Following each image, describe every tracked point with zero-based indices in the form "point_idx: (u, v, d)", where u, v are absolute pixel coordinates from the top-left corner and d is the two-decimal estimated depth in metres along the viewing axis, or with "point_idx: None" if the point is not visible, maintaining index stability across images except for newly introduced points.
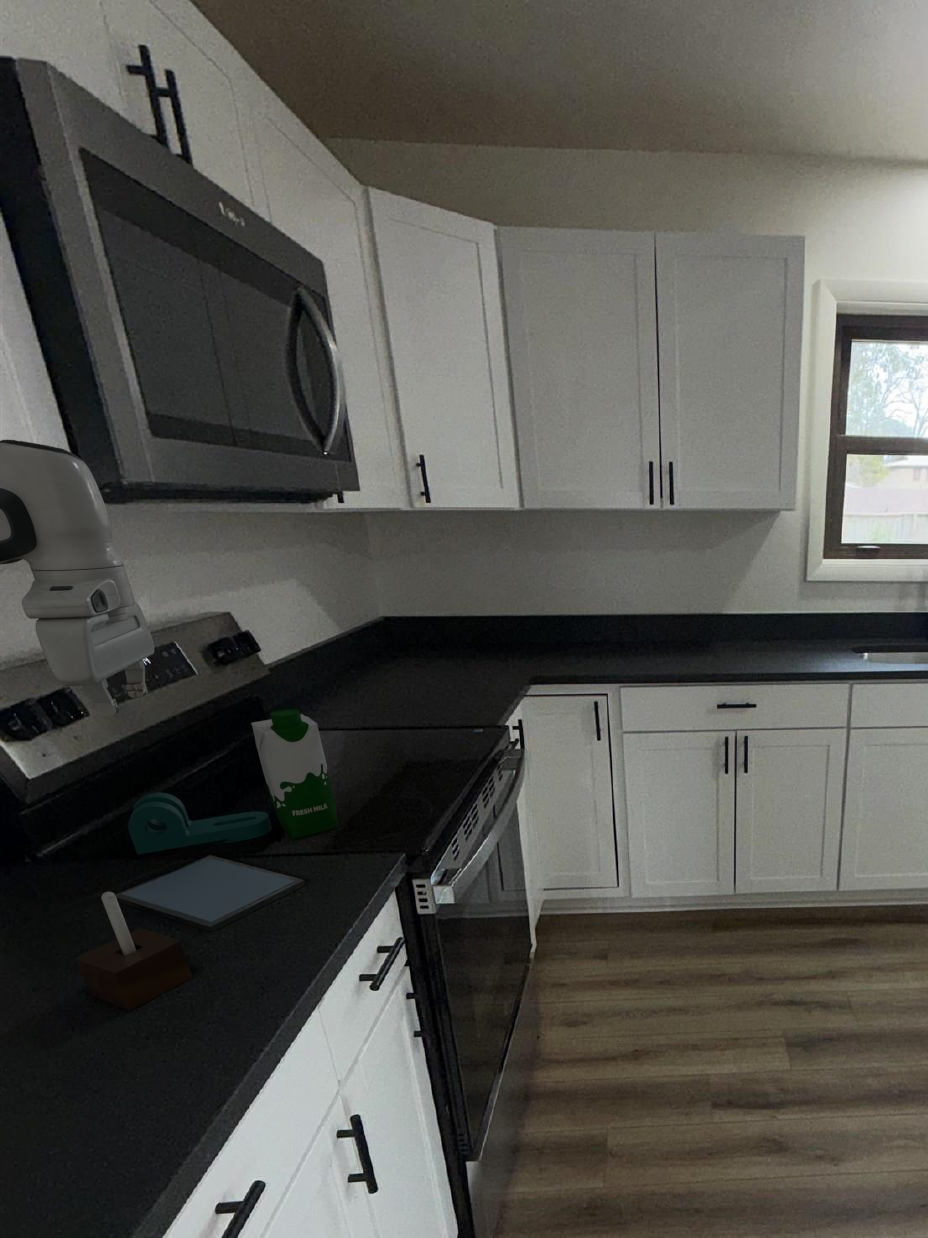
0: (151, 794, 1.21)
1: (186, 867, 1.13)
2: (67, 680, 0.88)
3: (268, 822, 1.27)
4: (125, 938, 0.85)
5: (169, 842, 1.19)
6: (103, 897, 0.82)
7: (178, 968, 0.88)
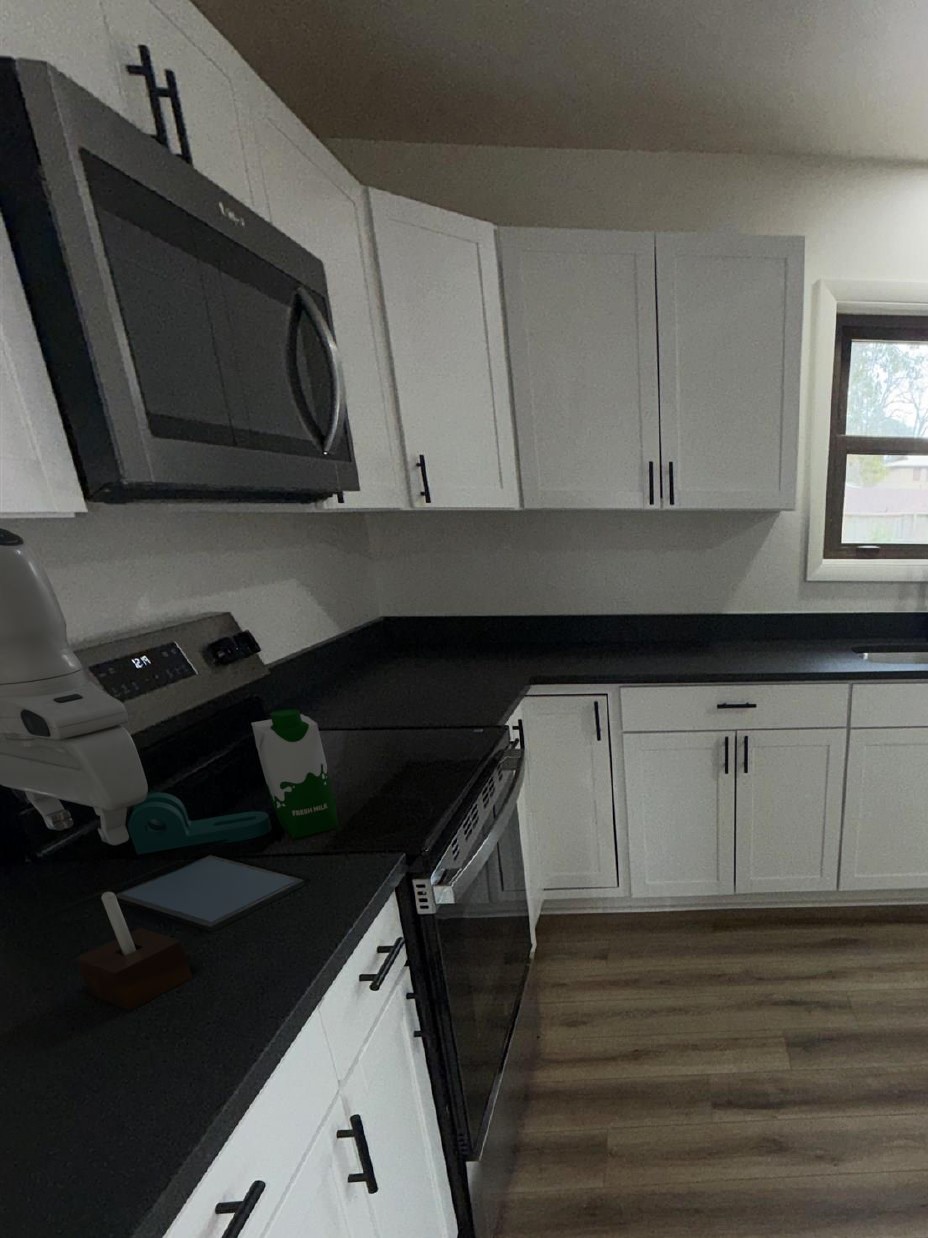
0: (151, 794, 1.21)
1: (186, 867, 1.13)
2: (123, 802, 0.74)
3: (268, 822, 1.27)
4: (125, 938, 0.85)
5: (169, 842, 1.19)
6: (103, 897, 0.82)
7: (178, 968, 0.88)
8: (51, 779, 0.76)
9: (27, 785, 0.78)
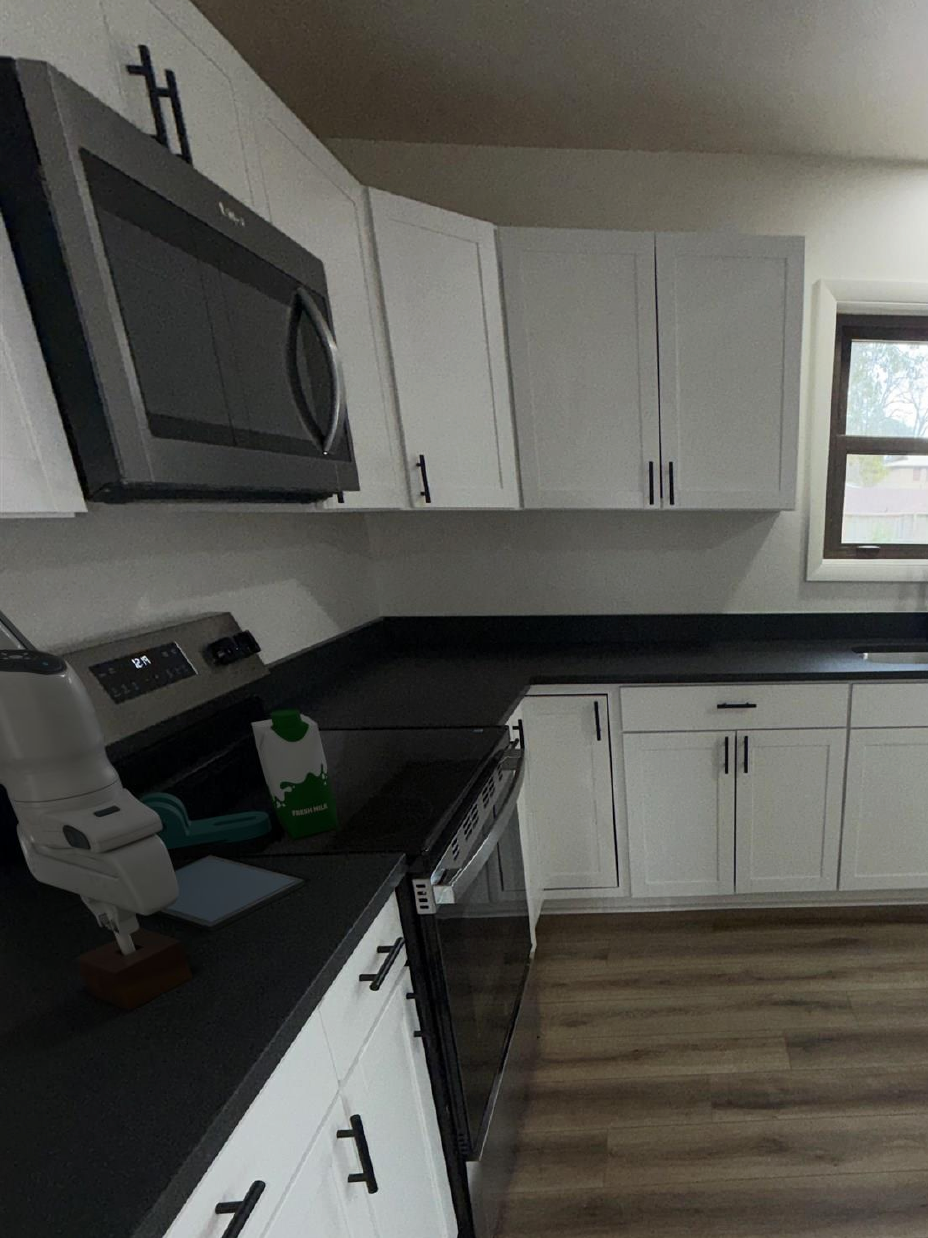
0: (151, 794, 1.21)
1: (186, 867, 1.13)
2: (157, 907, 0.78)
3: (268, 822, 1.27)
4: (124, 938, 0.85)
5: (169, 842, 1.19)
6: None
7: (178, 968, 0.88)
8: (87, 882, 0.80)
9: (64, 884, 0.82)
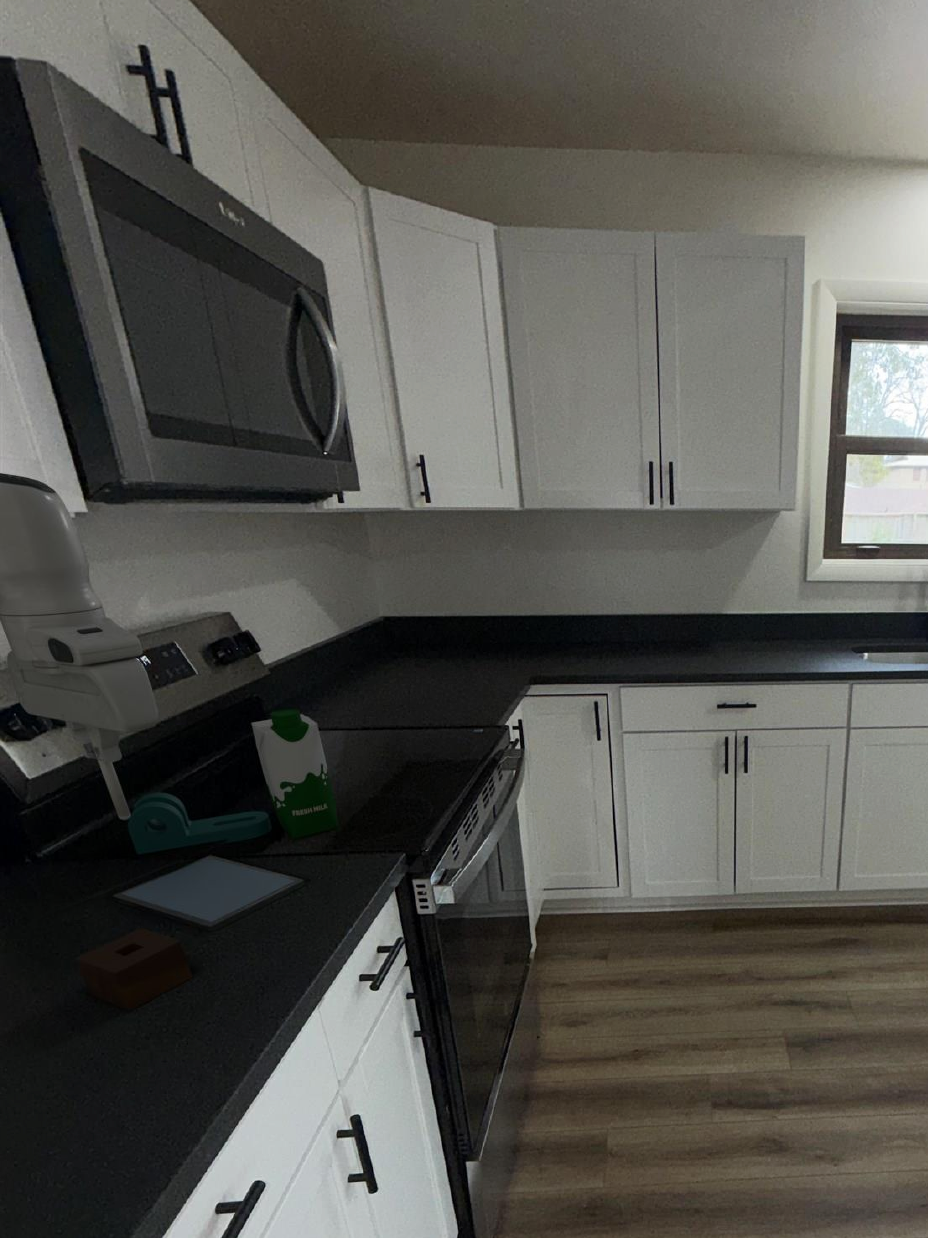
0: (151, 794, 1.21)
1: (186, 867, 1.13)
2: (136, 725, 0.83)
3: (268, 822, 1.27)
4: (108, 768, 0.90)
5: (169, 842, 1.19)
6: None
7: (178, 968, 0.88)
8: (72, 705, 0.85)
9: (51, 711, 0.87)
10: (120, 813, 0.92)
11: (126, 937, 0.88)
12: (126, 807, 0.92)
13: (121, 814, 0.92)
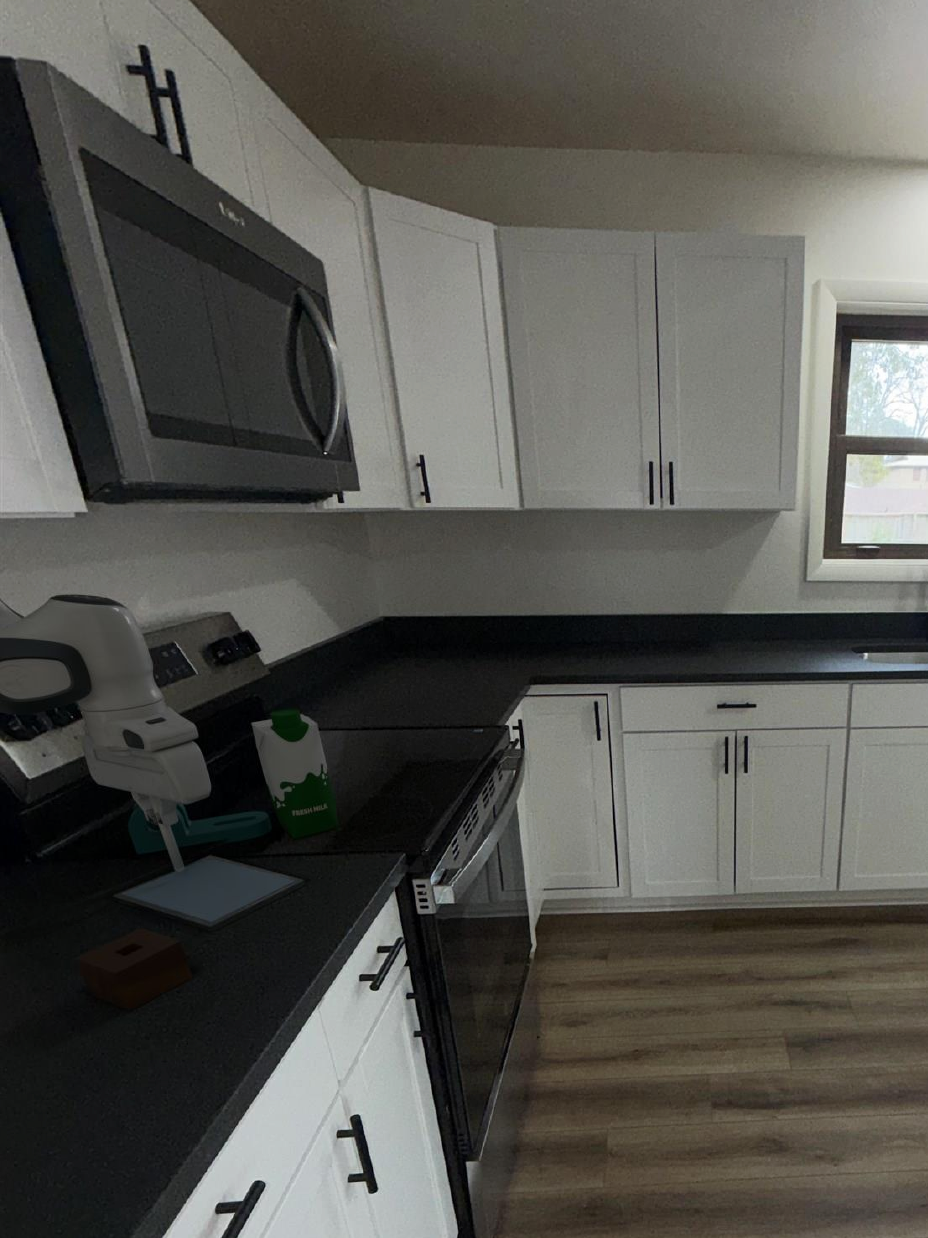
0: None
1: (186, 867, 1.13)
2: (194, 797, 1.00)
3: (268, 822, 1.27)
4: (166, 829, 1.06)
5: None
6: None
7: (178, 968, 0.88)
8: (139, 780, 1.01)
9: (119, 784, 1.04)
10: (176, 866, 1.08)
11: (126, 937, 0.88)
12: (181, 861, 1.09)
13: (177, 867, 1.09)
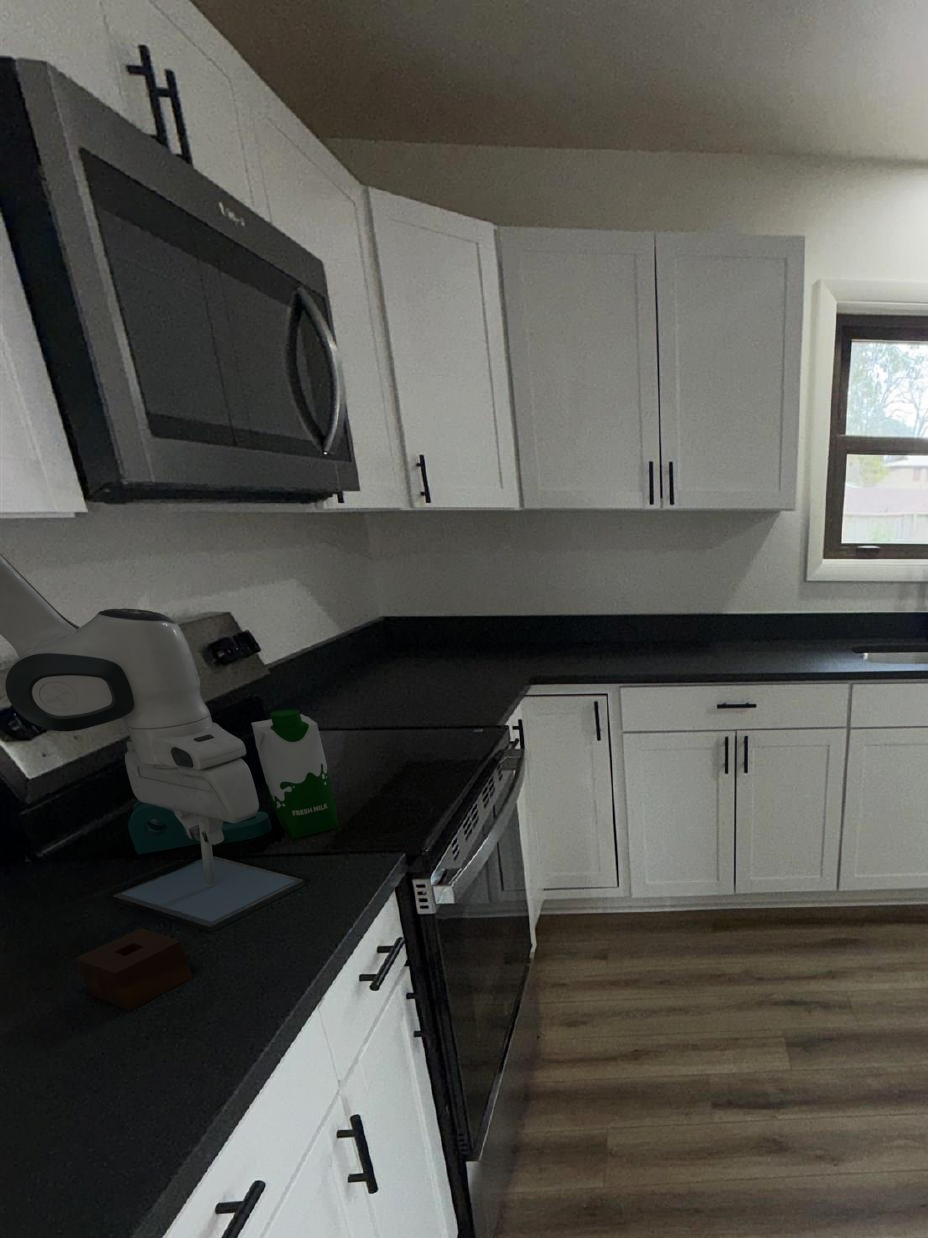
0: None
1: (186, 867, 1.13)
2: (242, 816, 0.97)
3: (268, 822, 1.27)
4: (208, 849, 1.04)
5: (169, 842, 1.19)
6: (200, 816, 1.01)
7: (178, 968, 0.88)
8: (185, 798, 0.99)
9: (163, 802, 1.01)
10: (207, 883, 1.07)
11: (126, 937, 0.88)
12: (213, 878, 1.07)
13: (208, 883, 1.07)
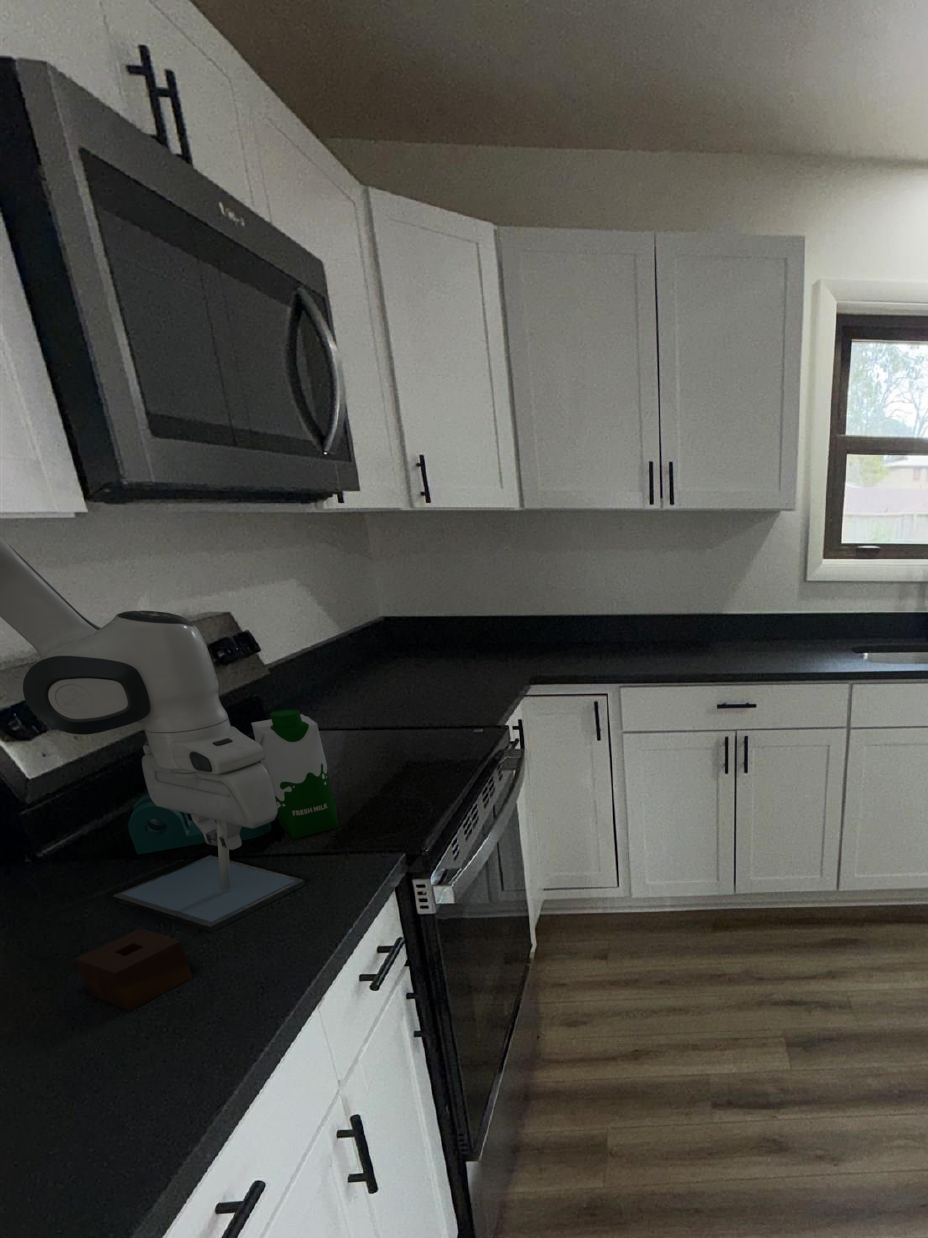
0: None
1: (186, 867, 1.13)
2: (261, 821, 0.96)
3: None
4: (225, 854, 1.03)
5: (169, 842, 1.19)
6: None
7: (178, 968, 0.88)
8: (202, 803, 0.97)
9: (180, 806, 1.00)
10: (223, 887, 1.05)
11: (126, 937, 0.88)
12: (229, 883, 1.06)
13: (224, 888, 1.06)
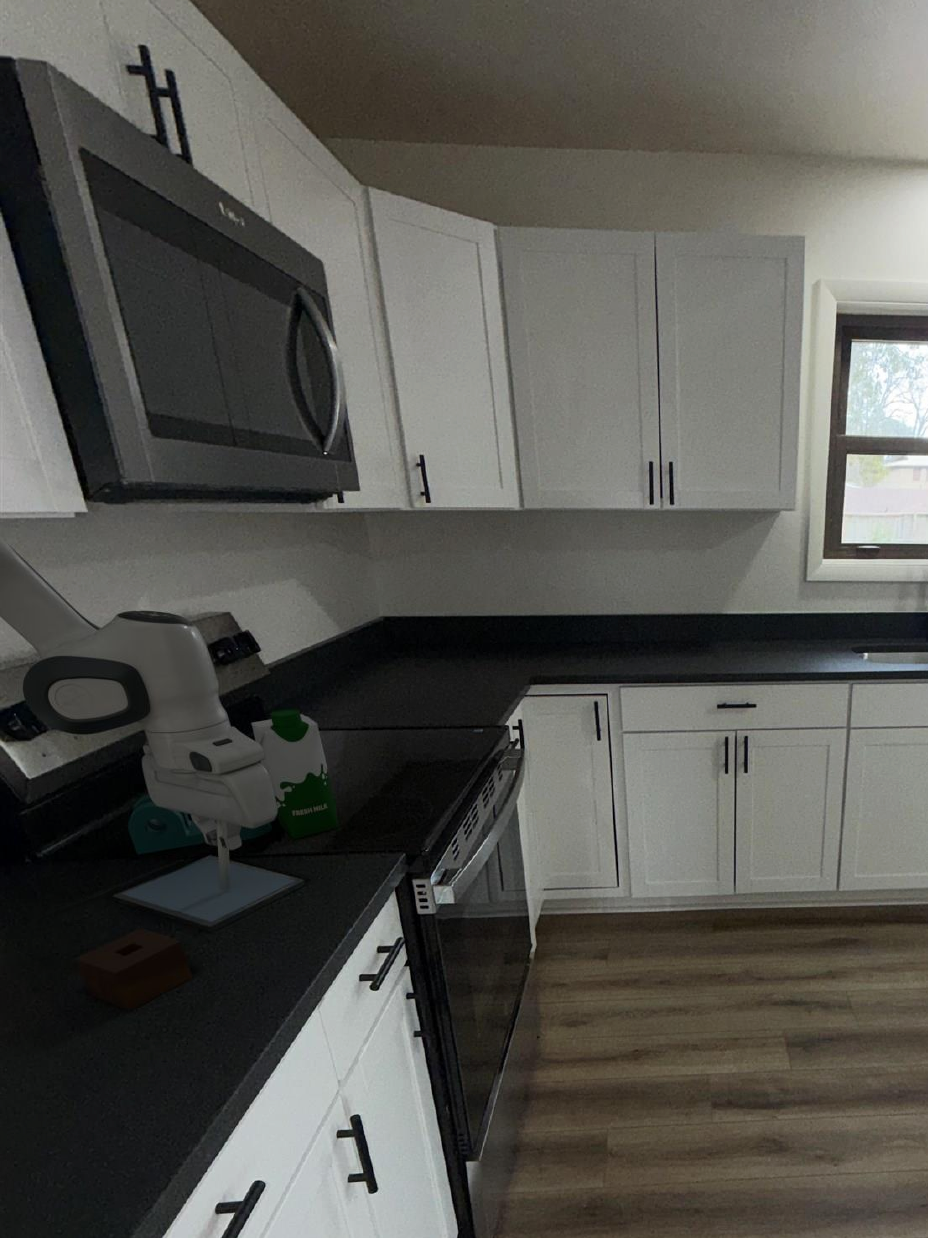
0: None
1: (186, 867, 1.13)
2: (261, 821, 0.96)
3: None
4: (225, 855, 1.03)
5: (169, 842, 1.19)
6: None
7: (178, 968, 0.88)
8: (202, 803, 0.97)
9: (180, 806, 1.00)
10: (223, 887, 1.05)
11: (126, 937, 0.88)
12: (229, 883, 1.06)
13: (224, 888, 1.06)
